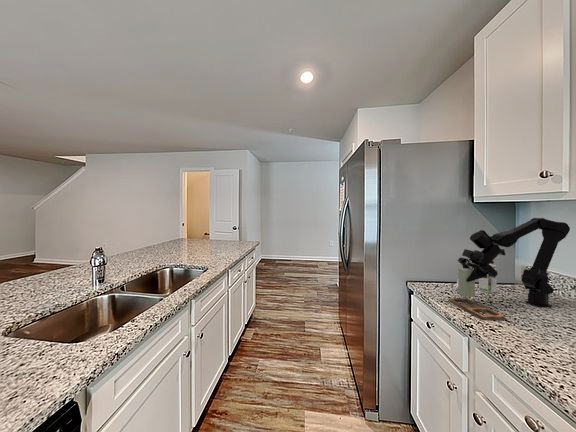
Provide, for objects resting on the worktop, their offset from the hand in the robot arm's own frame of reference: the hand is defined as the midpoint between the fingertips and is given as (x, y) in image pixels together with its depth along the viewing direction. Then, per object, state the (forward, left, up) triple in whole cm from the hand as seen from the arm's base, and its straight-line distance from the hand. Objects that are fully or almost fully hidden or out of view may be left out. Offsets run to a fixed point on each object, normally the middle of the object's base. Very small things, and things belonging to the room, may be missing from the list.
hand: (463, 279), depth 120 cm
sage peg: (-1, 0, -7) cm, 7 cm away
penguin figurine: (-14, -22, -12) cm, 29 cm away
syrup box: (-26, -20, -12) cm, 35 cm away
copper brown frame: (-1, +5, -12) cm, 13 cm away
